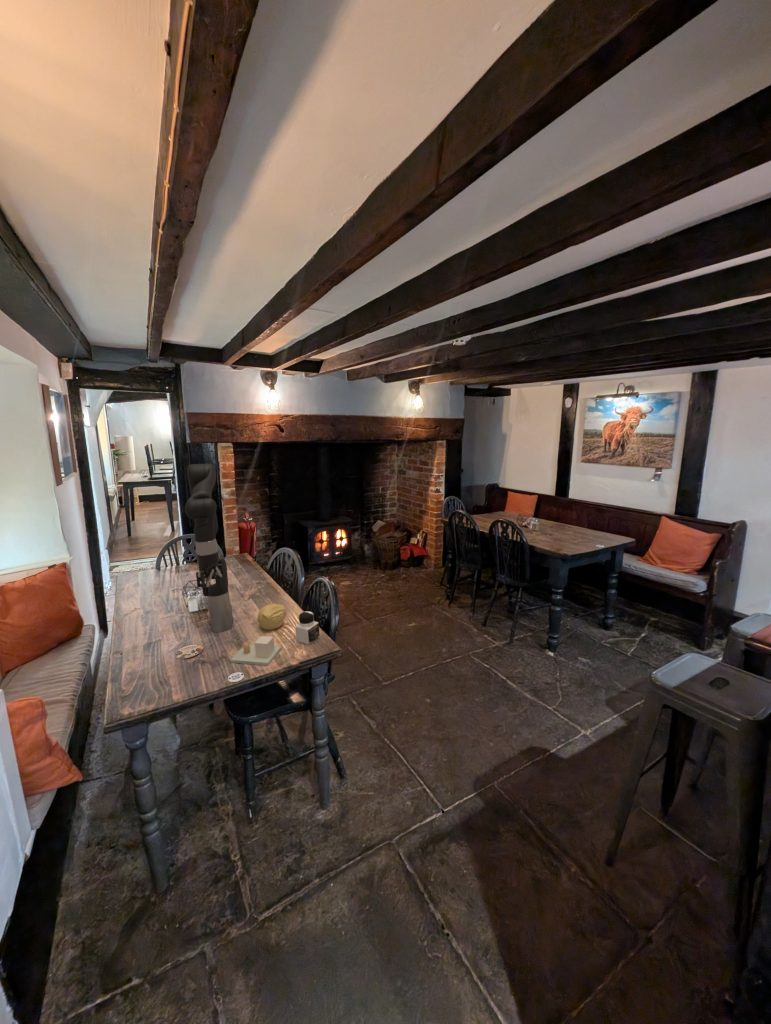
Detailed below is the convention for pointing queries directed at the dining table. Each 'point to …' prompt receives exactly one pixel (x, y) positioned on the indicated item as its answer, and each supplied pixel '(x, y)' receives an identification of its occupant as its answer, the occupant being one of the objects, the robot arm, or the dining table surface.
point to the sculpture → (271, 616)
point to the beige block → (264, 646)
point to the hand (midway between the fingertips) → (213, 591)
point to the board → (252, 655)
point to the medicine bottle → (307, 628)
